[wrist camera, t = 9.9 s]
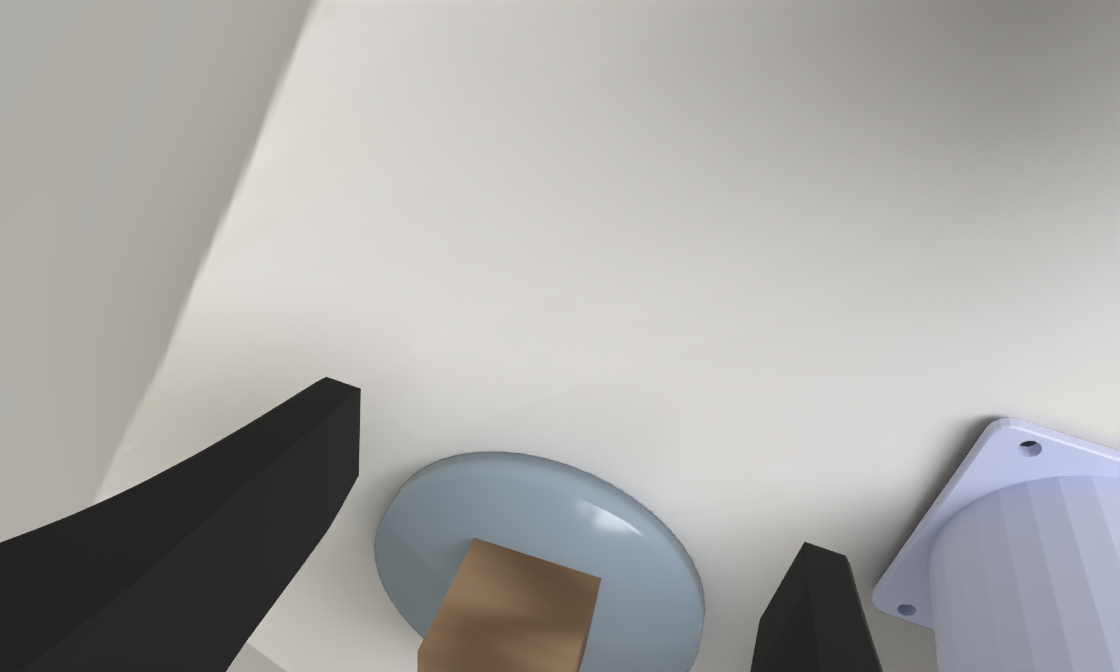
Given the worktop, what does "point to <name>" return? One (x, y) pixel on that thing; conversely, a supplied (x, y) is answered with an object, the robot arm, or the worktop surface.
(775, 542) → the worktop surface
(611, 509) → the slate dish
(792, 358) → the worktop surface
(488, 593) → the walnut block
